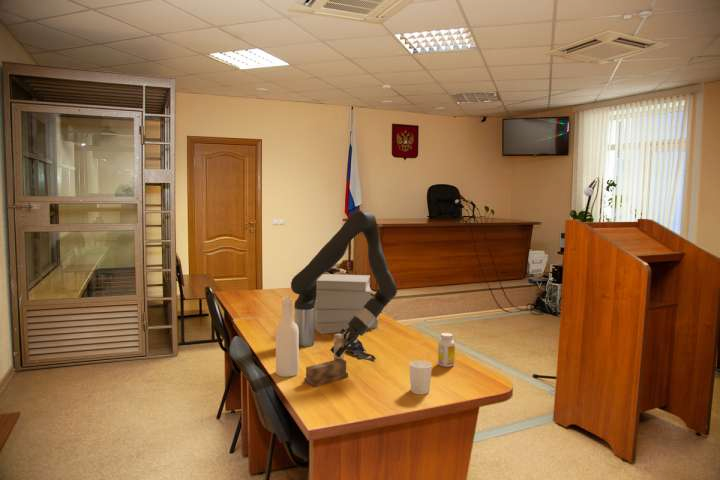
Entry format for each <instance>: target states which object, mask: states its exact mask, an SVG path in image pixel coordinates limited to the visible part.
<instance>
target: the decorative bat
mask: <svg viewBox="0 0 720 480" xmlns="http://www.w3.org/2000/svg"><path fill="white" fill-rule="evenodd" d="M349 347H350V346H349ZM348 352H349V353H352V354H353V356H357V359H361V360H377V357H376V356H375V355H374V354H371V353H367V350H366V349H365V347H364V345H363V343H362V341H360V340H359V342H358V343H357V344H356V345H355V346H354V347H353V348H352V349H351V350H349V351H348Z"/></svg>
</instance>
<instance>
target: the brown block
mask: <svg viewBox="0 0 720 480" xmlns="http://www.w3.org/2000/svg"><path fill="white" fill-rule="evenodd" d="M348 377H349V373H348V372H347V360H346V359H344V360H343V359H337V360H334V359H333V360H331V361H330V360H329V361H327V362H326V361H324V362H320V363H317V364H313V365H310V366H306V367H305V377H304V378H303V382H304V383H306V384H308V385H309V386H311V387H313V388H314V387H317V386H320V384H321V385H325V384H329V383H331V382H335V381H339V380H343V379H346V378H348ZM324 383H325V384H324Z"/></svg>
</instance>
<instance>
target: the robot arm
mask: <svg viewBox="0 0 720 480" xmlns="http://www.w3.org/2000/svg"><path fill="white" fill-rule="evenodd" d="M378 227H379V226H378V223H377V218H376V216H375V214H373V213H372V212H371V211H368V210H356V211H353V212H352V213H351V214H350V215H349V217H348V218H347V219H346V221H345V222H344V223H343V225H342V226H341V227H340V229H339V230H338V231H337V232H336V233H335V234H334V235H333V236H332V237H331V238H330V240H329V241H328V242H327V243H326V244H325V245H324V246H323V247H322V248H321V249H320V250H319V251H318V252H317V254H316V255H314V257H313V258H312V259H311V260H310V262H309V263H308V264H307V265H306V266H304V268H302V269H301V270H300V271H299V272H298V273H297V274H295V276H293V278H292V280H291V282H290V288H291V291H292V292H293V293H294V294H295V295H298V297H297V298H296V300H295V301H294V305H293V306H294V307H293V308H294V322H295V323H296V324H297V326H298V330H299V347H304V348H305V347H311V346H314V345H315V329H314V305H315V302H316V294H317V283H318V281H317V279H318V278H320V277H321V276H322V274H325V273H326V272H327V271H329V270H330V269H332V268H333V267H334V266H335V265H336V264H337V263H338V262H339V261H340V260H341V259H342V258H343V257H344V256H345V254H346V252H347V248H348V247H349V244H350V243H351V242H352V240H353V239H355V238H356V237H357V235H359V234H360V233H362V234H363V235H364V238H365V240H366V243H367V250H368V251H367V253H368V254H367V255H368V256H367V258H368V263H369V266H370V270H371V273H372V275H373V277H374V278H375V280H376V282H377V284H378V289H377V291H376V292H375V293H374V295H373V296H372V297H371V299H370V300H369V301H368V302H367V303H366V304H365V305H364V306H363V308H362V309H360V310H359V311H358V312H357V314H356V315H355V316H354V317H353V318H352V319H351V321H350V322H349V323H348V325H349V328H348V329H346V330H344V329H342V330H341V331H340V332H338V334H343V335H344V343H343V344H342V346H341V347H340V348H339V349H338V351H337V352H336V353H335V355H336V356H337V357H340V356H341V355H342V353H343V352H344V353H345V351H348V352H349V350H351V349H352V348H353V347H354V346H355V345H356V344H357V343H358V342H359V341H360V339H359V336H363V335H364V334H365V333H366V332H367V330H369V329H368V328H369V327H370V326H371V325H372V323H373V322H374V320H375V319H376V318H378V317H379V316H380V314H381V313H382V312H383V310H384V308H385V307H386V306H387V305H389V303H390V302H391V301H392V300H393V299H394V297H396V295H397V294H398V287H397V285H396V282H395V279H394V277H393V275H392V274H391V272H390V269H389V265H388V263H387V260H386V258H385V254H384V250H383V247H382V243H381V239H380V238H381V237H380V233H379V229H378ZM349 346H350V347H349ZM330 352H331V353H333V354H334V345H333V346H332V347H331V348H330Z"/></svg>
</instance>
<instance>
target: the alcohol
mask: <svg viewBox="0 0 720 480" xmlns="http://www.w3.org/2000/svg"><path fill="white" fill-rule="evenodd" d="M280 315H281V317H280V322H279V323H278V324H277V325H276V329H275V373H276V374H277V376H279V377H280V378H281V377H282V378H292V377H295V376H297V375H298V373H299V367H300V365H299V360H300V359H299V356H300V355H299V354H300V352H299V350H300V349H299V347H300V346H299V330H298V326H297V324H296V323H295V319H294V312H293V298H292V297H290V296H289V297H282V299H281V314H280Z"/></svg>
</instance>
